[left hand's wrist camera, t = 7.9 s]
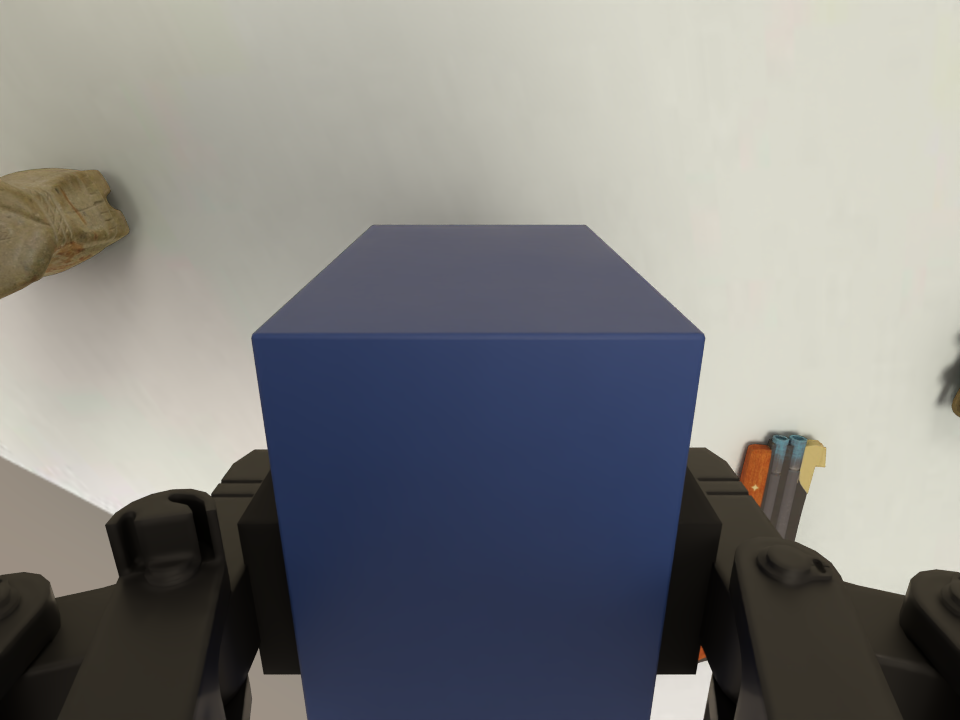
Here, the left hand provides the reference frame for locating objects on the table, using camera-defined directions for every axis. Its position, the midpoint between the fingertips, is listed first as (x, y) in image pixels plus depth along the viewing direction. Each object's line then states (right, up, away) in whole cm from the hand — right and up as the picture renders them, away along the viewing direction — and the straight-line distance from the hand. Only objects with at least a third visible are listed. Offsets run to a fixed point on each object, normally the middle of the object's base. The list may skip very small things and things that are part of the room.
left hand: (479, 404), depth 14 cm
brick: (0, 0, +1) cm, 1 cm away
